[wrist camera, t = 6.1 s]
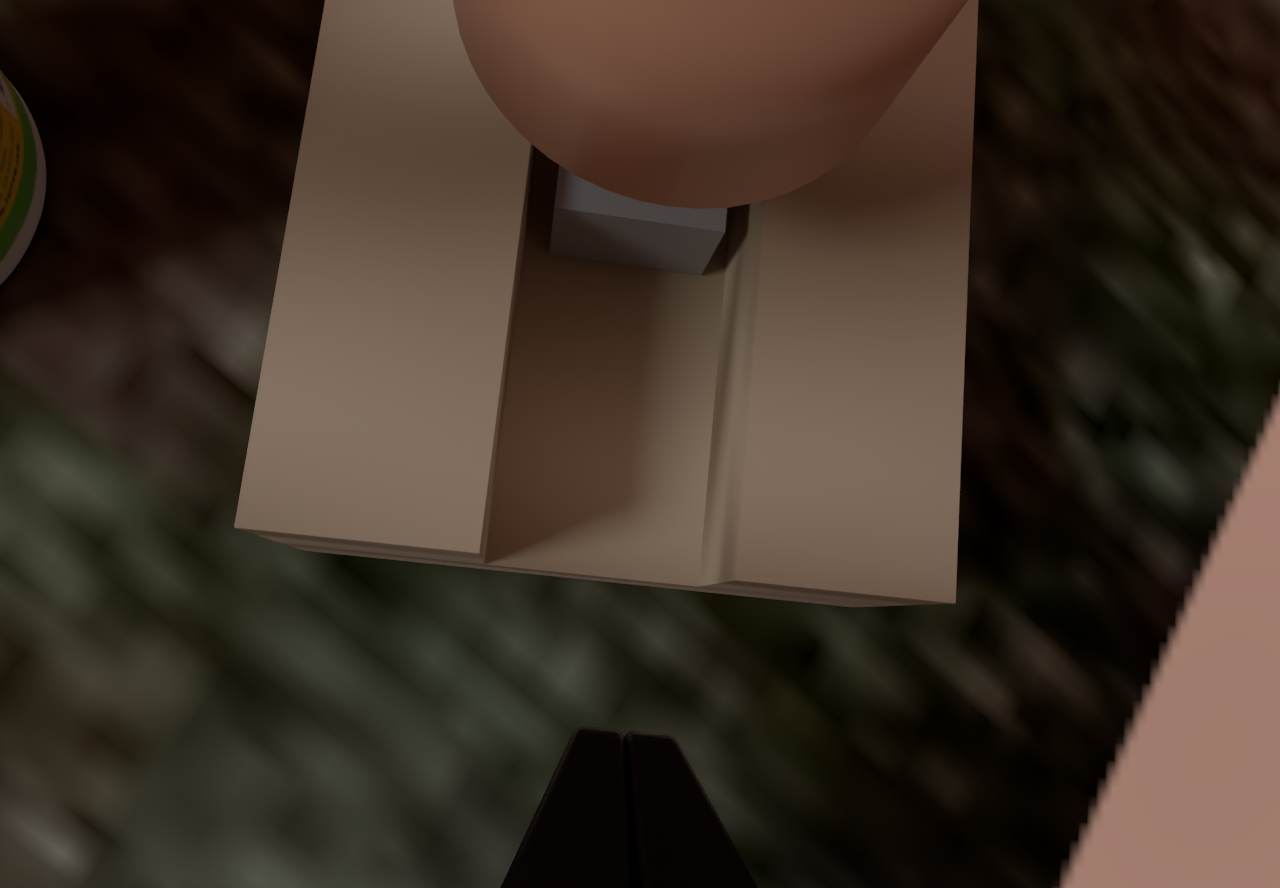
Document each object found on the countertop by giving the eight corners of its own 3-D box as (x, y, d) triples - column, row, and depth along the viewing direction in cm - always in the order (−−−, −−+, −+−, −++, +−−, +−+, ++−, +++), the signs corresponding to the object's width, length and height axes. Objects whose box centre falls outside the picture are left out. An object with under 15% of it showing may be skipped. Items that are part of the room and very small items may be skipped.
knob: (782, 354, 16) (1112, 30, 7) (448, 309, 15) (367, -99, 7) (804, 54, 17) (1118, -553, 8) (491, 2, 16) (470, -709, 7)
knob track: (851, 607, 17) (955, 603, 13) (302, 550, 16) (233, 527, 12) (879, 115, 18) (979, -21, 14) (384, 36, 17) (347, -132, 14)
